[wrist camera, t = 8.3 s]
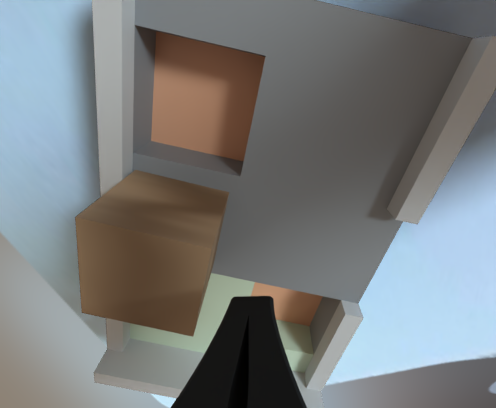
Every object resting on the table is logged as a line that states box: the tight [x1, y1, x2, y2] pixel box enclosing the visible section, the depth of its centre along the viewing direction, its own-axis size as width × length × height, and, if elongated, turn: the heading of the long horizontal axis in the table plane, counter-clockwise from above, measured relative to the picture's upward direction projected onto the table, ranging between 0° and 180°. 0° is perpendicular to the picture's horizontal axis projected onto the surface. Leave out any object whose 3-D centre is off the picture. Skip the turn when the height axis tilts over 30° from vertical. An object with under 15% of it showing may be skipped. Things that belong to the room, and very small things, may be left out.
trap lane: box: [92, 0, 496, 408], centre depth 14 cm, size 14×21×5 cm, turn 168°
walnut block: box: [75, 170, 229, 337], centre depth 12 cm, size 4×4×4 cm
